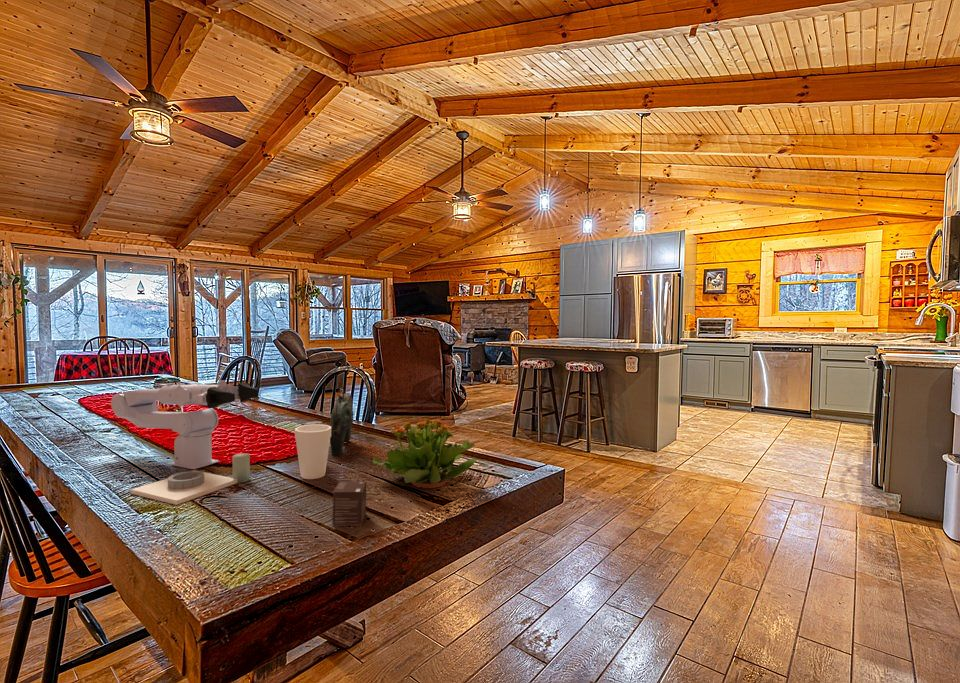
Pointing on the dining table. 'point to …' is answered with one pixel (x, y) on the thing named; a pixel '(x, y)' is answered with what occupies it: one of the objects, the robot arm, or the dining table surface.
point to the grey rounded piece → (241, 467)
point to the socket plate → (186, 493)
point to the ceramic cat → (341, 422)
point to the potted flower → (426, 455)
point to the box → (349, 503)
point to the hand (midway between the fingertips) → (245, 395)
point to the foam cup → (312, 449)
